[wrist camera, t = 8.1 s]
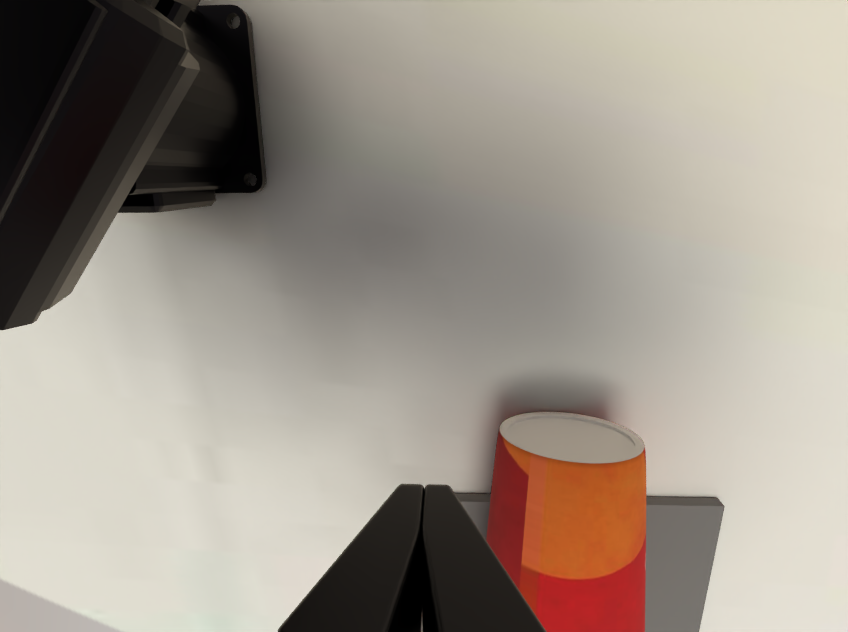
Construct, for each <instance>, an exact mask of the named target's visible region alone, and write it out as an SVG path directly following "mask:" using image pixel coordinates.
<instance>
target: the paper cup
mask: <svg viewBox="0 0 848 632" xmlns="http://www.w3.org/2000/svg"><path fill="white" fill-rule="evenodd" d="M486 541H487V543H488V544H489V546H490V547H491V549H492V550H493V552H494V553H495V555H496V556H497V558H498V559H499V561H500V562H501V564H502V565H503V567H504V568H505V570H506V571H507V573H508V574H509V576H510V577H511V579H512V580H513V582H514V583H515V585H516V586H517V588H518V589H519V591H520V592H521V594H522V595H523V597H524V598H525V600H526V601H527V603H528V604H529V606H530V607H531V609H532V610H533V612H534V613H535V615H536V616H537V618H538V619H539V621H540V622H541V624H542V625H543V627H544V628H545V630H546V631H547V632H645V587H646V456H645V445H644V442H643V440H642V439H641V438H640V437H639V436H638V435H637V434H635V433H634V432H633V431H631V430H629V429H627V428H625V427H623V426H621V425H618V424H616V423H613V422H610V421H607V420H603V419H600V418H596V417H591V416H586V415H581V414H574V413H564V412H532V413H525V414H520V415H516V416H513V417H510V418H508V419H506V420H505V421H504V422H502V424H501V425H500V428H499V432H498V439H497V445H496V454H495V462H494V470H493V479H492V489H491V498H490V508H489V518H488V528H487V538H486Z"/></svg>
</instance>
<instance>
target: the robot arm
mask: <svg viewBox="0 0 848 632" xmlns="http://www.w3.org/2000/svg"><path fill="white" fill-rule="evenodd" d="M199 2H200V0H0V330H6V329H10V328H14V327H19V326H23V325H27V324H32V323H34V322H35V321H37V319H38V317H39V315H40V314H41V312H42V311H44V310H47V309H49V308H51V307H52V306H54V305H55V304H56V303H58V302H59V301H61V300H62V299H63V298H65V297H66V296H68V295H69V294H70V293H71V292H72V291H73V289H74V287H75V285H76V284H77V282H78V280H79V278H80V277H81V275H82V273H83V272H84V270H85V268H86V266H87V265H88V263H89V261H90V259H91V258H92V256H93V254H94V253H95V251H96V249H97V247H98V246H99V244H100V242H101V240H102V239H103V237H104V235H105V234H106V232H107V230H108V228H109V227H110V225H111V223H112V221H113V220H114V218H115V216H116V214H117V213H142V212H164V211H172V210H180V209H188V208H195V207H203V206H211V205H212V204H213V203H214V202H215V201H216V195H215V193H253V192H259V191H261V190H262V189H264V187H265V185H266V171H265V161H264V151H263V140H262V130H261V120H260V109H259V99H258V89H257V78H256V68H255V58H254V47H253V37H252V26H251V21H250V18H249V16H248V15H247V13H245V12H244V11H243V10H242V9H240V8H239V7H238V6H234V5H207V6H197V5H198V3H199ZM236 16H238V17H239V18H240V25H239V27H238V28H236V29H232V26H231V20H232V19H233V18H234V17H236ZM251 173H253V174H254V175H255V176H256V179H257V180H256V184H255V185H254V186H252V185H251V184H249V182H248V176H249V174H251ZM421 627H422V632H547V631H546V630H545V628H544V627H543V625H542V624H541V622H540V621H539V619H538V618H537V616H536V615H535V613H534V612H533V610H532V609H531V607H530V606H529V604H528V603H527V601H526V600H525V598H524V597H523V595H522V594H521V592H520V591H519V589H518V588H517V586H516V585H515V583H514V582H513V580H512V579H511V577H510V576H509V574H508V573H507V571H506V570H505V568H504V567H503V565H502V564H501V562H500V561H499V559H498V558H497V556H496V555H495V553H494V552H493V550H492V549H491V547H490V546H489V544H488V543H487V541H486V540H485V538H484V537H483V535H482V534H481V532H480V531H479V529H478V528H477V526H476V525H475V523H474V522H473V520H472V519H471V517H470V516H469V514H468V513H467V511H466V510H465V508H464V507H463V505H462V504H461V502H460V501H459V499H458V498H457V496H456V495H455V493H454V492H453V490H452V489H451V487H450V486H448V485H427V486H426V487H425V489H424V487H423V485H420V484H401V485H399V486H398V487H397V488H396V489H395V491H394V492H393V493H392V494H391V495H390V497H389V498H388V499H387V500H386V501H385V502H384V504H383V505H382V506H381V507H380V508H379V510H378V511H377V512H376V513H375V514H374V516H373V517H372V518H371V519H370V520H369V522H368V523H367V524H366V525H365V526H364V528H363V529H362V530H361V531H360V532H359V533H358V535H357V536H356V537H355V538H354V539H353V541H352V542H351V543H350V544H349V545H348V547H347V548H346V549H345V550H344V551H343V553H342V554H341V555H340V556H339V557H338V558H337V560H336V561H335V562H334V563H333V564H332V566H331V567H330V568H329V569H328V570H327V572H326V573H325V574H324V575H323V576H322V578H321V579H320V580H319V581H318V582H317V584H316V585H315V586H314V587H313V588H312V589H311V591H310V592H309V593H308V594H307V595H306V597H305V598H304V599H303V600H302V601H301V603H300V604H299V605H298V606H297V607H296V609H295V610H294V611H293V612H292V613H291V614H290V616H289V617H288V618H287V619H286V620H285V622H284V623H283V624H282V625H281V626H280V628H279V629H278V632H421Z"/></svg>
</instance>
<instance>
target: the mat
mask: <svg viewBox="0 0 848 632" xmlns="http://www.w3.org/2000/svg"><path fill="white" fill-rule="evenodd" d="M455 495H456V496H457V498H458V499H459V501H460V502H461V504H462V505H463V507H464V508H465V510H466V511H467V513H468V514H469V516H470V517H471V519H472V520H473V522H474V523H475V525H476V526H477V528H478V529H479V531H480V532H481V534H482V535H483V537H484V538H485V540H486V538H487V528H488V518H489V508H490V498H491V494H463V493H455ZM723 511H724V505H723V504H722V503H721V502H720V500H719V499H718V498H694V497H646V587H645V632H699V629H700V624H701V619H702V614H703V609H704V604H705V599H706V594H707V590H708V585H709V580H710V575H711V570H712V565H713V560H714V555H715V550H716V546H717V541H718V536H719V531H720V526H721V521H722V516H723ZM421 632H422V627H421Z"/></svg>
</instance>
